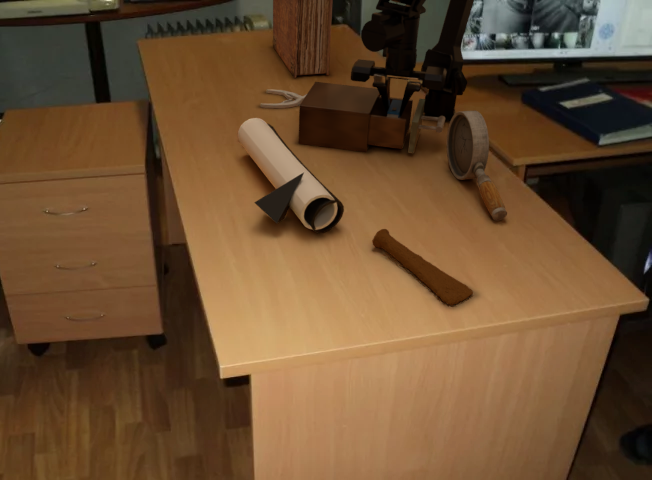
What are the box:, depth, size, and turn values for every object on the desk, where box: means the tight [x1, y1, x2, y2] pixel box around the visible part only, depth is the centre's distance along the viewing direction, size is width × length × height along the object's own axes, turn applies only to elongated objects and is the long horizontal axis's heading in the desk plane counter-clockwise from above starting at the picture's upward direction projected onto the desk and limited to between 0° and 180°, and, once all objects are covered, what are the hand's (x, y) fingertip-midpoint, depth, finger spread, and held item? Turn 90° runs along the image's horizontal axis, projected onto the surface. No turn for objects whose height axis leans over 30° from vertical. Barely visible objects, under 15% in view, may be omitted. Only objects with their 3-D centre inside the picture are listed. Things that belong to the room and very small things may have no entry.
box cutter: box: [387, 100, 402, 118], centre depth 153 cm, size 10×2×3 cm, turn 164°
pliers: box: [259, 88, 307, 109], centre depth 174 cm, size 10×2×15 cm
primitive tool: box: [371, 228, 474, 306], centre depth 116 cm, size 19×6×4 cm, turn 39°
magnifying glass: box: [446, 110, 508, 222], centre depth 137 cm, size 13×3×25 cm
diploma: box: [237, 117, 345, 234], centre depth 135 cm, size 35×9×14 cm
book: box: [272, 0, 333, 79], centre depth 188 cm, size 25×9×30 cm, turn 13°
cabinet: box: [298, 81, 380, 153], centre depth 157 cm, size 15×14×9 cm
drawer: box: [368, 96, 446, 154], centre depth 154 cm, size 18×13×7 cm
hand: (394, 114), depth 153 cm, fingers closed on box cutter, 2 cm apart
